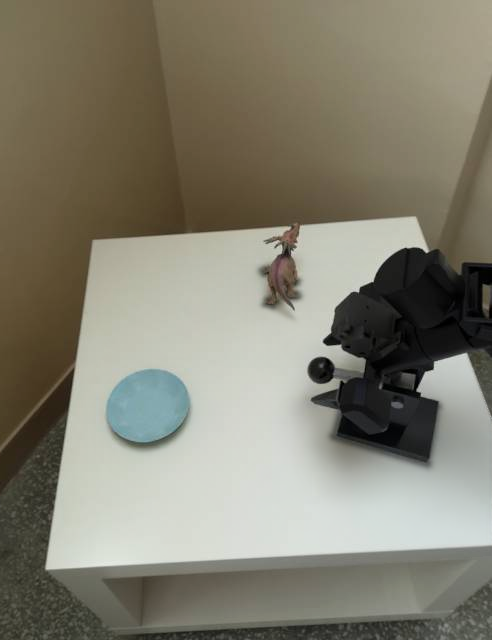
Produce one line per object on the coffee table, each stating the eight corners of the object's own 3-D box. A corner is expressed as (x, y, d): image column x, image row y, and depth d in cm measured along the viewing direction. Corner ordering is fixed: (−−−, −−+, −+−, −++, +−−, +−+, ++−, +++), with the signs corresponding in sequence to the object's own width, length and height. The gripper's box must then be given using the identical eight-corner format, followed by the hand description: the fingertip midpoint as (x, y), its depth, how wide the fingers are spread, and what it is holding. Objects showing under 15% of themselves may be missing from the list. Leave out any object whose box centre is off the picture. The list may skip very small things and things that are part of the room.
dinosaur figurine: (263, 257, 92) (263, 215, 84) (298, 257, 91) (300, 215, 83) (261, 319, 84) (261, 280, 76) (299, 320, 84) (302, 280, 76)
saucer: (94, 429, 75) (89, 422, 73) (136, 365, 81) (133, 357, 79) (165, 461, 72) (163, 455, 70) (205, 392, 77) (203, 384, 76)
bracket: (336, 436, 72) (346, 394, 63) (351, 382, 77) (362, 336, 67) (426, 462, 69) (451, 423, 60) (436, 405, 74) (461, 360, 64)
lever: (305, 386, 70) (303, 371, 67) (312, 364, 72) (310, 348, 69) (409, 407, 65) (412, 391, 62) (414, 383, 67) (417, 366, 64)
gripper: (394, 230, 59) (291, 282, 70) (375, 368, 49) (259, 402, 61) (447, 288, 64) (344, 328, 75) (440, 424, 54) (322, 446, 65)
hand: (319, 371), depth 69 cm, fingers open, 9 cm apart
